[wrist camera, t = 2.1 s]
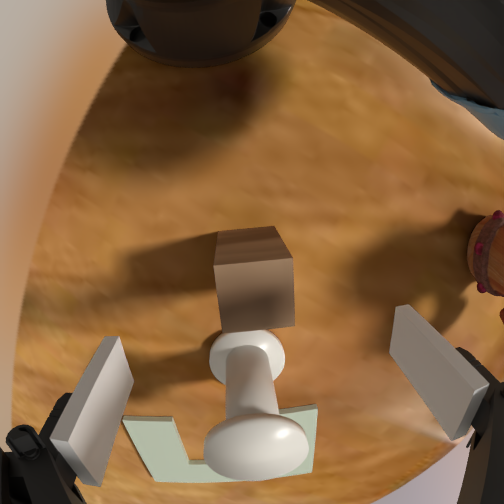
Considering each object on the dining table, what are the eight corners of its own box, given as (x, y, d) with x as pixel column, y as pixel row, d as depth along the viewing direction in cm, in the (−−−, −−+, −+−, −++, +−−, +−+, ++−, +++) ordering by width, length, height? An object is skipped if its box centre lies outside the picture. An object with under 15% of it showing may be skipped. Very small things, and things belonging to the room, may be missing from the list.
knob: (204, 328, 28) (194, 428, 17) (282, 321, 28) (311, 417, 17) (215, 385, 30) (212, 483, 19) (284, 379, 31) (306, 474, 19)
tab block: (218, 231, 26) (213, 265, 18) (274, 226, 26) (292, 258, 18) (224, 283, 27) (222, 333, 19) (277, 277, 27) (294, 326, 20)
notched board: (123, 415, 31) (122, 420, 30) (316, 403, 32) (317, 408, 31) (156, 477, 36) (155, 481, 35) (310, 468, 36) (311, 472, 36)
